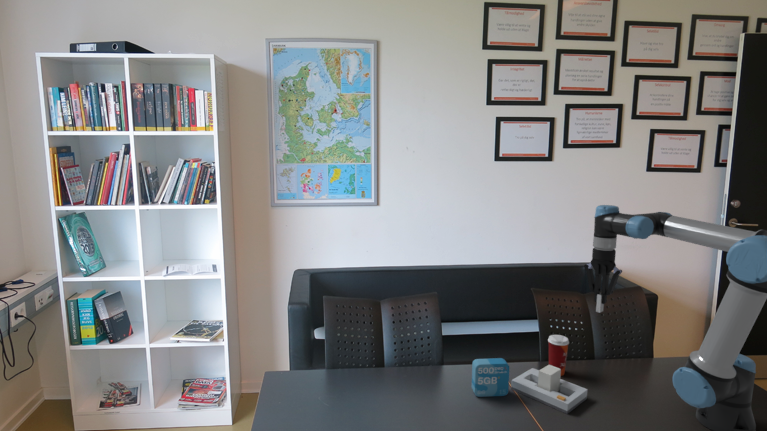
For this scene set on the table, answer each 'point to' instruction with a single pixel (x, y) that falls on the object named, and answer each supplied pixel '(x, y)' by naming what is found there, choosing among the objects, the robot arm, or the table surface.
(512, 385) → the socket
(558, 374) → the plug
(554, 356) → the paper cup
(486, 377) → the data package
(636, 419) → the table surface
